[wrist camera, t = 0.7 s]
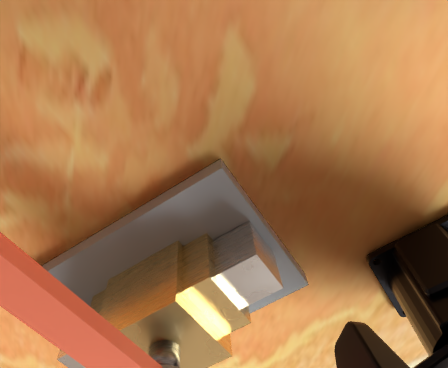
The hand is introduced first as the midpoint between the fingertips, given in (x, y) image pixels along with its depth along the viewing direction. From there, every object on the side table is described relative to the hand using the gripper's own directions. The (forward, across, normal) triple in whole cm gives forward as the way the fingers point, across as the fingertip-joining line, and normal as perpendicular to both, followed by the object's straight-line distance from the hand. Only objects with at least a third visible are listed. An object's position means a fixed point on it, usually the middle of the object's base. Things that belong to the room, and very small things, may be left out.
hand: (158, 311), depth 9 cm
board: (+13, -1, +11) cm, 17 cm away
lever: (+5, +2, +8) cm, 10 cm away
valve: (+13, -1, +11) cm, 17 cm away
